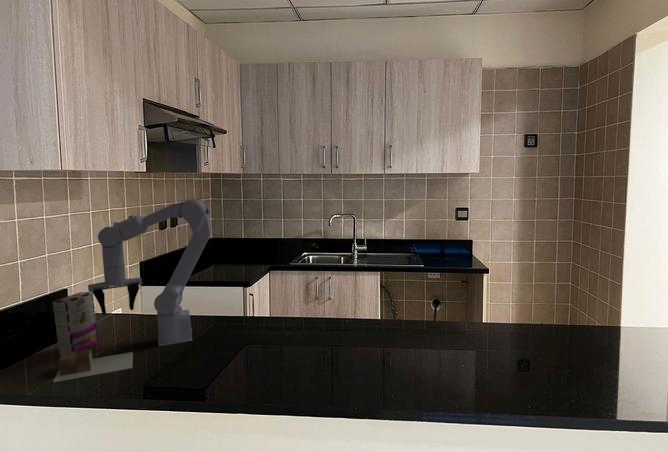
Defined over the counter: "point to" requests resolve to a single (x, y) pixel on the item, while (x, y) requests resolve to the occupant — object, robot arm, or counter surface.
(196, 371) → the counter surface
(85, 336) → the candy bar box
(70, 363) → the walnut block
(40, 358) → the counter surface
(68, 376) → the cream board
